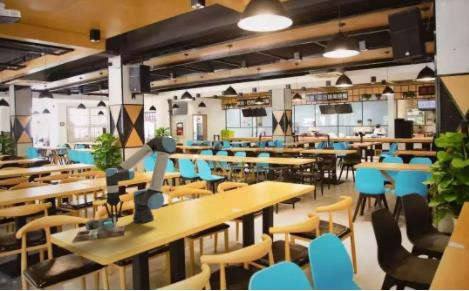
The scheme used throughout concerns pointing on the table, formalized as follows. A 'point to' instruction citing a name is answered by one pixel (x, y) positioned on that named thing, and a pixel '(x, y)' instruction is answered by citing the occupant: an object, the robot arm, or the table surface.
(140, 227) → the table surface
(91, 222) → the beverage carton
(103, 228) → the brown piece
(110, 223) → the teal block
